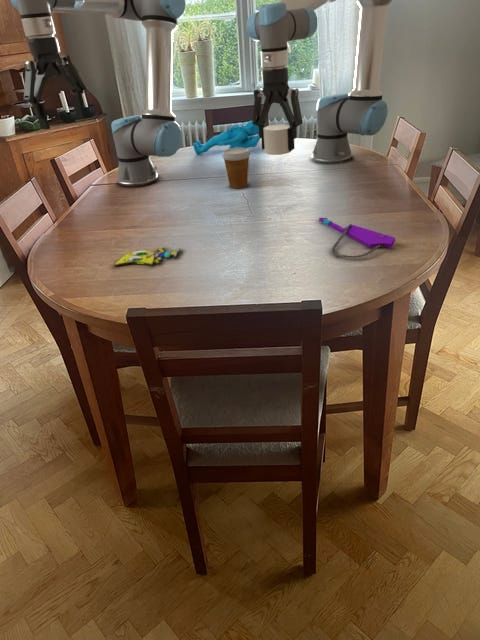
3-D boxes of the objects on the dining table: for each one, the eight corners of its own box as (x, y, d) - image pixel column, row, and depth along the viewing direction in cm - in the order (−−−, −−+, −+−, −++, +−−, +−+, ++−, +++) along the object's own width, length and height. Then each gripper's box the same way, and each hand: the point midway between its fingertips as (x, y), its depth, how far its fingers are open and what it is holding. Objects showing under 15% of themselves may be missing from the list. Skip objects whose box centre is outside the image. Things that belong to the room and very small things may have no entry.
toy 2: (171, 262, 119) (113, 263, 121) (171, 266, 119) (114, 266, 121) (180, 245, 127) (126, 246, 129) (180, 248, 128) (127, 249, 130)
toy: (198, 134, 217) (260, 114, 207) (206, 157, 223) (267, 139, 212) (187, 143, 204) (253, 123, 194) (196, 168, 209) (261, 149, 199)
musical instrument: (379, 268, 112) (405, 226, 124) (378, 260, 110) (405, 219, 123) (287, 256, 124) (320, 220, 137) (286, 249, 123) (319, 213, 135)
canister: (285, 155, 145) (284, 130, 141) (260, 154, 149) (258, 130, 145) (295, 148, 151) (295, 124, 147) (271, 147, 155) (270, 123, 151)
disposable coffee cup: (220, 189, 168) (217, 154, 161) (231, 180, 175) (228, 146, 168) (246, 190, 164) (243, 154, 158) (255, 181, 171) (253, 147, 165)
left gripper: (11, 40, 114) (38, 134, 126) (86, 32, 132) (104, 114, 143) (-9, 42, 118) (19, 133, 129) (67, 34, 135) (86, 114, 147)
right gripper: (236, 70, 139) (242, 150, 152) (303, 68, 130) (304, 154, 142) (248, 66, 145) (254, 144, 157) (314, 64, 135) (314, 147, 147)
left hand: (64, 123), depth 136 cm, fingers open, 13 cm apart
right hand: (278, 148), depth 150 cm, fingers closed on canister, 8 cm apart
